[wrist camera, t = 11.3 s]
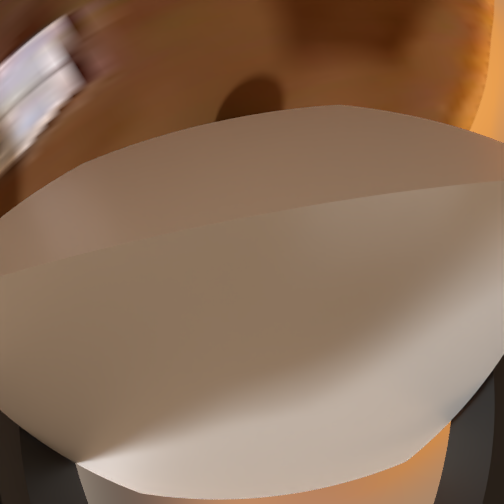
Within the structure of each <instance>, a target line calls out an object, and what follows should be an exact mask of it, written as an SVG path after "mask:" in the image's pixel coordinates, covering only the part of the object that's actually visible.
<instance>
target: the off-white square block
mask: <svg viewBox="0 0 504 504" xmlns="http://www.w3.org/2000/svg"><path fill="white" fill-rule="evenodd" d="M503 355H504V143H502V142H499V141H497V140H494V139H492V138H489V137H486V136H483V135H480V134H477V133H474V132H471V131H468V130H465V129H462V128H458V127H455V126H451V125H448V124H444V123H440V122H436V121H432V120H428V119H424V118H420V117H415V116H410V115H405V114H400V113H395V112H389V111H384V110H377V109H371V108H363V107H356V106H347V105H329V106H316V107H306V108H297V109H288V110H280V111H273V112H267V113H260V114H254V115H248V116H243V117H237V118H232V119H227V120H222V121H218V122H213V123H209V124H204V125H200V126H196V127H192V128H188V129H184V130H180V131H177V132H173V133H169V134H166V135H162V136H159V137H156V138H152V139H149V140H146V141H143V142H140V143H137V144H134V145H131V146H128V147H125V148H122V149H119V150H116V151H114V152H111V153H108V154H106V155H103V156H100V157H98V158H95V159H93V160H90V161H88V162H85V163H83V164H81V165H79V166H78V167H76V168H74V169H72V170H71V171H69V172H67V173H66V174H64V175H62V176H60V177H59V178H57V179H56V180H54V181H52V182H51V183H49V184H48V185H46V186H44V187H43V188H41V189H40V190H38V191H37V192H35V193H34V194H32V195H31V196H29V197H28V198H27V199H25V200H24V201H22V202H21V203H19V204H18V205H17V206H15V207H14V208H13V209H11V210H10V211H9V212H7V213H6V214H5V215H3V216H2V217H1V218H0V410H1V411H2V412H3V413H4V414H5V415H7V416H8V417H9V418H10V419H11V420H13V421H14V422H15V423H16V424H18V425H19V426H20V427H21V428H23V429H24V430H25V431H27V432H28V433H29V434H31V435H32V436H34V437H35V438H36V439H38V440H39V441H41V442H42V443H44V444H45V445H47V446H48V447H50V448H51V449H53V450H54V451H56V452H58V453H59V454H61V455H62V456H64V457H66V458H68V459H69V460H71V461H73V462H74V463H76V464H78V465H80V466H82V467H84V468H85V469H87V470H89V471H91V472H93V473H95V474H97V475H99V476H102V477H104V478H106V479H108V480H110V481H112V482H115V483H117V484H119V485H121V486H124V487H126V488H129V489H131V490H134V491H137V492H139V493H144V494H150V495H157V496H166V497H176V498H190V499H191V498H192V499H245V498H260V497H270V496H279V495H286V494H293V493H299V492H305V491H310V490H315V489H319V488H325V487H329V486H333V485H337V484H341V483H345V482H348V481H352V480H355V479H359V478H362V477H365V476H368V475H371V474H374V473H377V472H380V471H383V470H386V469H388V468H391V467H394V466H396V465H399V464H401V463H404V462H405V461H407V460H409V459H410V458H411V457H412V456H413V455H415V454H416V453H417V452H418V451H419V450H420V449H422V448H423V447H424V446H425V445H426V444H427V443H428V442H429V441H430V440H432V439H433V438H434V437H435V436H436V435H437V434H438V433H439V432H440V431H441V430H442V429H443V428H444V427H445V426H446V425H447V424H448V423H449V422H450V421H451V420H452V419H453V418H454V417H455V416H456V415H457V413H458V412H459V411H460V410H461V409H462V408H463V407H464V406H465V405H466V403H467V402H468V401H469V400H470V399H471V398H472V396H473V395H474V394H475V393H476V391H477V390H478V389H479V388H480V386H481V385H482V384H483V383H484V381H485V380H486V379H487V377H488V376H489V375H490V373H491V372H492V371H493V369H494V368H495V366H496V365H497V363H498V362H499V361H500V359H501V358H502V356H503Z"/></svg>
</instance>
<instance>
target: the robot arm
mask: <svg viewBox="0 0 504 504" xmlns="http://www.w3.org/2000/svg"><path fill="white" fill-rule="evenodd" d="M0 504H88V502H87V499H86V496H85V493H84V490H83V487H82V485H81V482H80V479H79V475H78V471H77V468H76V465H75V463H74V462H73V461H71V460H69V459H68V458H66V457H64V456H62V455H61V454H59V453H58V452H56V451H54V450H53V449H51V448H50V447H48V446H47V445H45V444H44V443H42V442H41V441H39V440H38V439H36V438H35V437H34V436H32V435H31V434H29V433H28V432H27V431H25V430H24V429H23V428H21V427H20V426H19V425H18V424H16V423H15V422H14V421H13V420H11V419H10V418H9V417H8V416H7V415H5V414H4V413H3V412H2V411H1V410H0ZM434 504H504V355H503V356H502V358H501V359H500V361H499V362H498V363H497V365H496V366H495V368H494V369H493V371H492V372H491V373H490V375H489V376H488V377H487V379H486V380H485V381H484V383H483V384H482V385H481V386H480V388H479V389H478V390H477V391H476V393H475V394H474V395H473V396H472V398H471V399H470V400H469V401H468V402H467V403H466V405H465V406H464V407H463V408H462V409H461V410H460V411H459V412H458V413H457V415H456V416H455V417H454V418H453V419H452V420H451V427H450V434H449V440H448V447H447V452H446V457H445V462H444V467H443V472H442V476H441V480H440V484H439V487H438V491H437V495H436V498H435V502H434Z"/></svg>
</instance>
